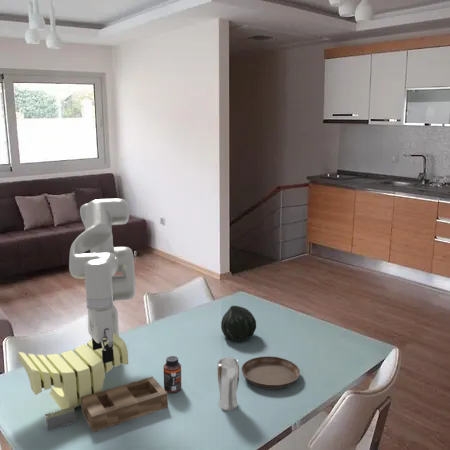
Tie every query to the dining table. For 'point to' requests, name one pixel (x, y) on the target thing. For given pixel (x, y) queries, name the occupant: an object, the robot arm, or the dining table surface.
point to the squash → (238, 324)
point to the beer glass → (228, 383)
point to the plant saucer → (270, 372)
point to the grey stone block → (60, 418)
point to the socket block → (123, 403)
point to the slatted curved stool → (72, 371)
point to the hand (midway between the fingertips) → (103, 355)
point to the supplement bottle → (172, 375)
